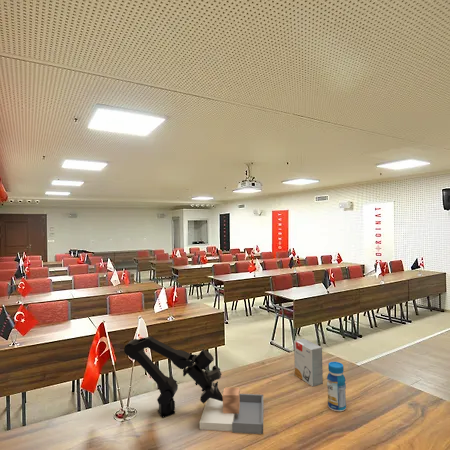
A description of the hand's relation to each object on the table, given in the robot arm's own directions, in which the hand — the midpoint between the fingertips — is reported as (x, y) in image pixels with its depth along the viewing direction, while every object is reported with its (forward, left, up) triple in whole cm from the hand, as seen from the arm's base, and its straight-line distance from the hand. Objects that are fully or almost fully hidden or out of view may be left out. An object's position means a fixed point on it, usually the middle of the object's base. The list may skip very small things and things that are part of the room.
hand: (223, 400), depth 147 cm
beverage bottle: (+48, -24, -7) cm, 54 cm away
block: (+3, -2, -4) cm, 5 cm away
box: (+9, -7, -7) cm, 13 cm away
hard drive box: (+57, +3, -7) cm, 57 cm away
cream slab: (-1, +1, -7) cm, 7 cm away
